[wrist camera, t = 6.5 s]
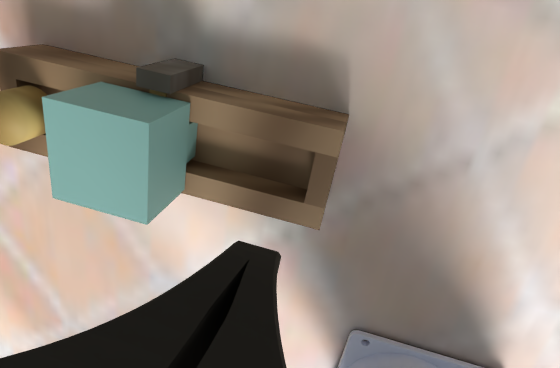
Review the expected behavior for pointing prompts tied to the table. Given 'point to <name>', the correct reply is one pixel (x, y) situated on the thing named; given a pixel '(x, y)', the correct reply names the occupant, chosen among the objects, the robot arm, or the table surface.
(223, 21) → the table surface
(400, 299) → the table surface
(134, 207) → the block
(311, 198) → the wooden slide track
